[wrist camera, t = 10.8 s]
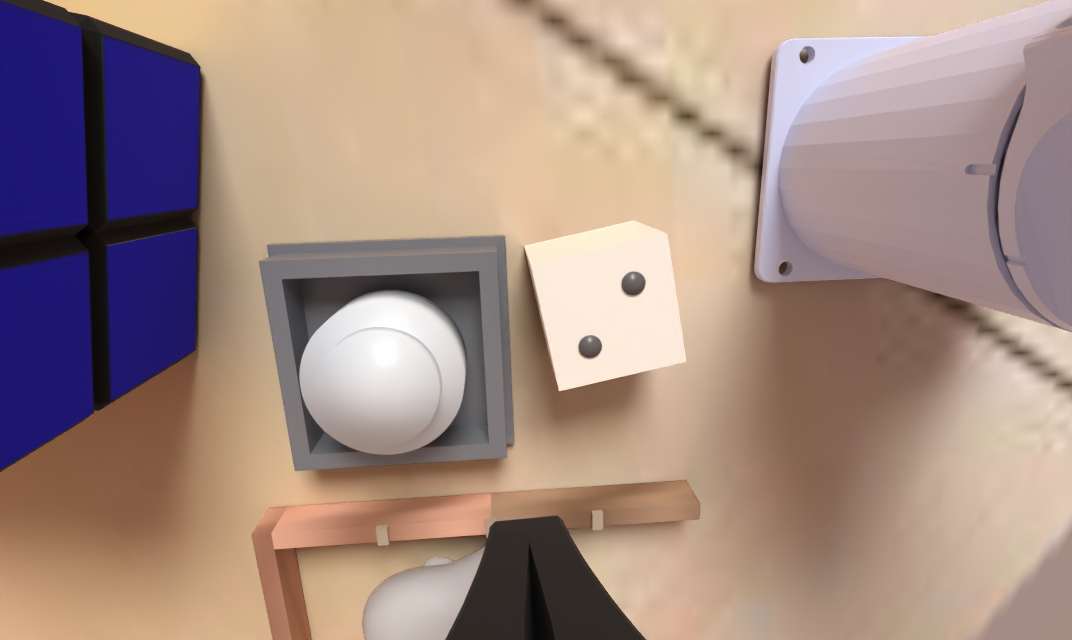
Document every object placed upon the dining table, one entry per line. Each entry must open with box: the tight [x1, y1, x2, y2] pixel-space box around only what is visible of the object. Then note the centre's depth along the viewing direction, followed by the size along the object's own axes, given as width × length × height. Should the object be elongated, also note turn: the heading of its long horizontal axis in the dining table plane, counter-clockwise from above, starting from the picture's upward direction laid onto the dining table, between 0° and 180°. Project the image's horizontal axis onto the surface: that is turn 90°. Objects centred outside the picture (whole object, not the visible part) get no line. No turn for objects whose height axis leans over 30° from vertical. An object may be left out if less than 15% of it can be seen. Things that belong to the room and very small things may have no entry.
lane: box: [251, 480, 700, 640], centre depth 22 cm, size 17×9×2 cm, turn 92°
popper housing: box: [259, 235, 514, 471], centre depth 19 cm, size 8×8×2 cm
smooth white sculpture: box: [362, 545, 486, 640], centre depth 21 cm, size 4×8×5 cm
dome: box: [299, 289, 467, 455], centre depth 17 cm, size 5×5×3 cm
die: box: [524, 221, 686, 391], centre depth 18 cm, size 4×4×4 cm
